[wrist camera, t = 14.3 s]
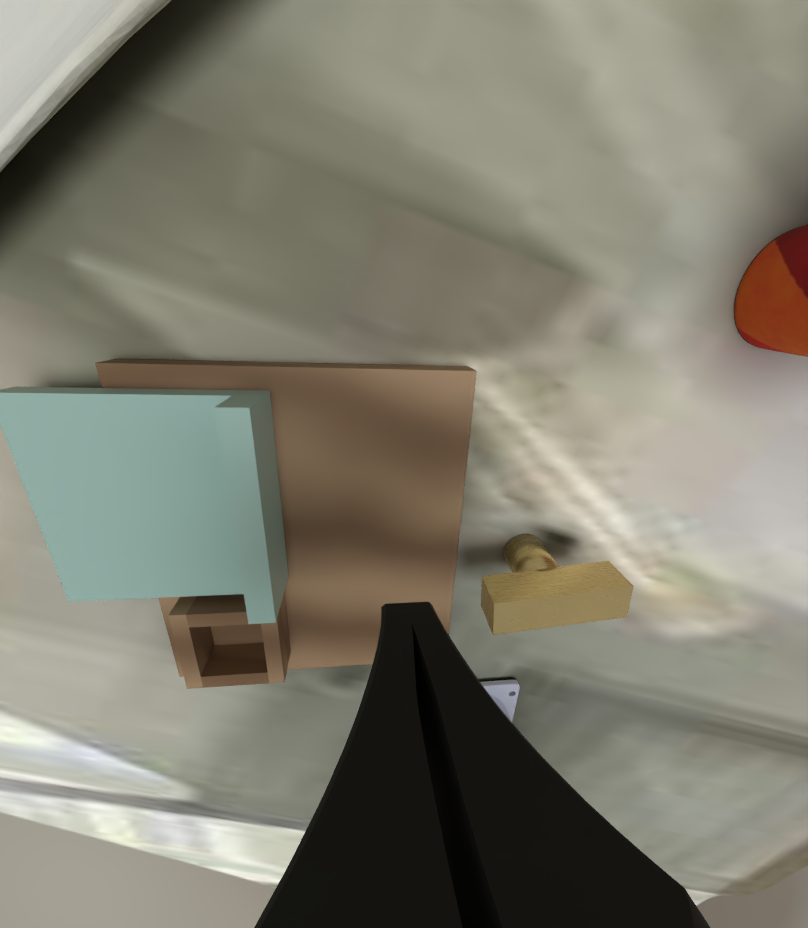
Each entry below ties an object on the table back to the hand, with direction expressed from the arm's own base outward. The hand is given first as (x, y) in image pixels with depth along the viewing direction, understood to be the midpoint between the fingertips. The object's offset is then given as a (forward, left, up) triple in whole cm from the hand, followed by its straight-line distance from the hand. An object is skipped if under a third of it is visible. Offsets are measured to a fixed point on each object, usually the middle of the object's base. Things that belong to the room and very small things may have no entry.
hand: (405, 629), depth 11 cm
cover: (0, +10, -9) cm, 13 cm away
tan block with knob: (-5, -9, -10) cm, 14 cm away
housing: (-3, +4, -10) cm, 12 cm away
